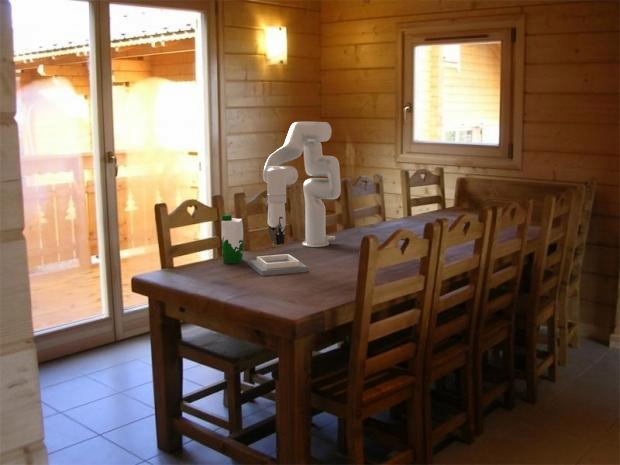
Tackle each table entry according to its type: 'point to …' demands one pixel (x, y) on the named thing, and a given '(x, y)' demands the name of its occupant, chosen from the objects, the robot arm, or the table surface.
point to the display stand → (277, 265)
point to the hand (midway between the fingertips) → (277, 242)
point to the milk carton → (232, 239)
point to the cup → (273, 235)
